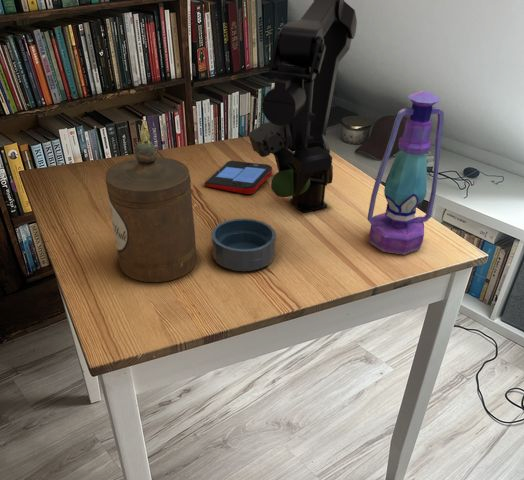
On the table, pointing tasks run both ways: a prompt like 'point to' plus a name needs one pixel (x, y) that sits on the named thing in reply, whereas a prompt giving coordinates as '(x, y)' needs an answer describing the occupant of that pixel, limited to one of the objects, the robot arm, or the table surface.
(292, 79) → the robot arm
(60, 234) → the table surface
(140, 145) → the vegetable
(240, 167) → the game console
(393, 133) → the lantern
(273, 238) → the bowl
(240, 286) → the table surface
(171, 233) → the wooden container
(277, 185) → the green rounded cylinder
